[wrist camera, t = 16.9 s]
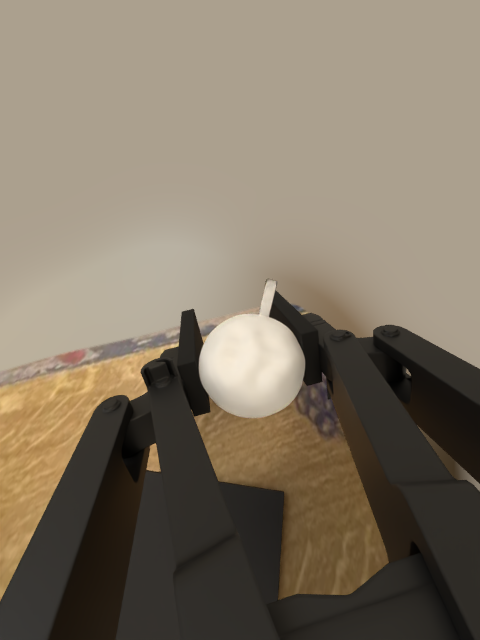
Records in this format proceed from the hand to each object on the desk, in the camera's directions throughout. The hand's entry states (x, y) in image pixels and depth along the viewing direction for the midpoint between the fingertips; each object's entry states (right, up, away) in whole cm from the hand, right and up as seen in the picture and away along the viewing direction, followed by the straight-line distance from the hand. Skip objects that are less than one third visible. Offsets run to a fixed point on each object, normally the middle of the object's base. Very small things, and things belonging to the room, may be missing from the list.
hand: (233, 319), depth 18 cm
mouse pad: (-3, -17, +2) cm, 18 cm away
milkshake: (+1, -5, +2) cm, 5 cm away
